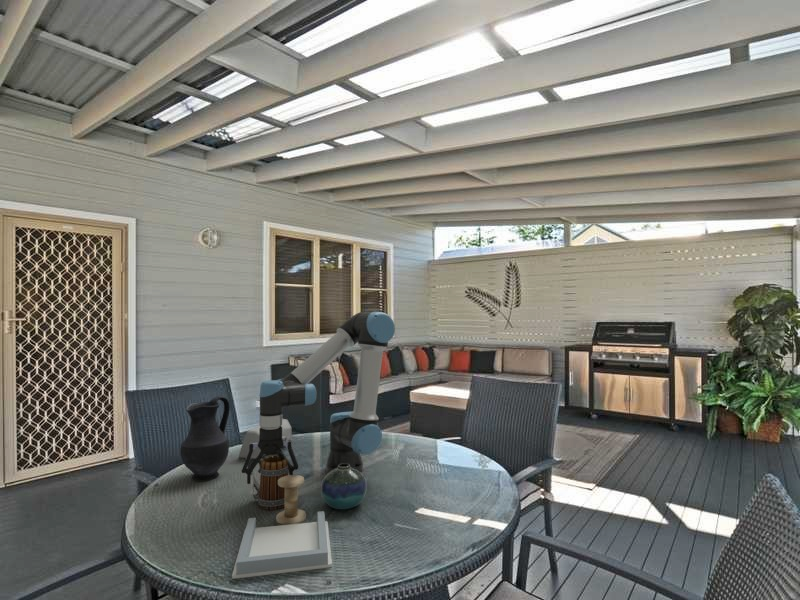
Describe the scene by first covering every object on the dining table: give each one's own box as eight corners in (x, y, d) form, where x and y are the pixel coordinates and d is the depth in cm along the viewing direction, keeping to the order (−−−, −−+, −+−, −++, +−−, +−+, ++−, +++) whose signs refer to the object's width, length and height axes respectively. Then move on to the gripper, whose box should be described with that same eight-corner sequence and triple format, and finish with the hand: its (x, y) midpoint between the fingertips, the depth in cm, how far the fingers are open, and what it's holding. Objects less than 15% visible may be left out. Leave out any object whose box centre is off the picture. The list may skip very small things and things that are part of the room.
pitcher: (170, 481, 173) (170, 402, 174) (211, 464, 193) (212, 393, 193) (205, 488, 167) (205, 405, 167) (244, 469, 186) (244, 395, 187)
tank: (268, 462, 195) (268, 433, 195) (237, 458, 200) (238, 429, 201) (300, 445, 219) (300, 419, 219) (271, 442, 224) (271, 417, 224)
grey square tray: (327, 523, 139) (327, 511, 139) (331, 567, 115) (331, 551, 115) (245, 531, 134) (245, 518, 134) (232, 578, 110) (232, 563, 110)
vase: (329, 519, 141) (329, 476, 142) (314, 501, 155) (314, 461, 155) (374, 509, 148) (374, 468, 149) (356, 492, 162) (356, 455, 162)
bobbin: (305, 510, 148) (305, 473, 148) (305, 523, 139) (305, 483, 139) (277, 513, 146) (277, 475, 146) (275, 526, 137) (275, 486, 137)
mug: (296, 499, 156) (296, 455, 157) (278, 512, 146) (278, 465, 147) (258, 493, 162) (258, 451, 162) (238, 506, 152) (238, 460, 152)
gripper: (306, 422, 161) (305, 485, 160) (236, 425, 156) (235, 490, 156) (306, 427, 154) (305, 493, 153) (232, 431, 149) (231, 498, 148)
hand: (270, 491), depth 154 cm, fingers open, 11 cm apart
